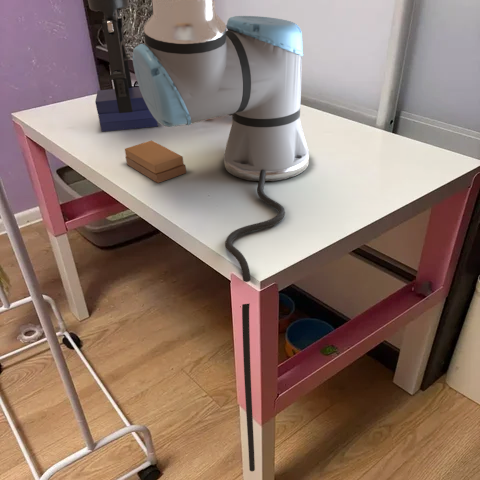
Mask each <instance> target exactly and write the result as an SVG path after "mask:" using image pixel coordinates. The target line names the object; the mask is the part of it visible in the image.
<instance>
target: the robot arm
mask: <svg viewBox="0 0 480 480" xmlns="http://www.w3.org/2000/svg"><path fill="white" fill-rule="evenodd" d="M87 2H88V8H89V9H90V10H91V11H92V12H97V13H99V12H102V13H103V19H101V22H100V23H101V28H102V29H101V30H102V32H103V36H104V42H105V45H106V50H107V55H108V61H109V68H110V74H108V75H107V76H108V81H112V84H113V89H115V94H116V99H117V104H118V110H119V113H128V112H133V111H132V105H131V99H130V93H129V88H132V87H133V84H132V76H131V70H130V66H129V60H131V54H130V53H128V50H127V47H126V43H125V39H124V38H125V32H124V20H123V18H122V17H121V16H120V11H122V10H125V9H127V8H128V7H129V5H130V4H129V3H130V2H129V0H87ZM151 3H152V14H151V15H150V17H149V18H148V19H147V20H146V22H144V24H143V34H144V36H143V37H144V43H139V44H138V45H136V46H135V47H134V48H133V51H132V66H133V70H134V75H135V80H136V82H137V86H138V87H139V88H140V91H141V94H142V96H143V98H144V101H145V103H146V105H147V107H148V109H149V111H150V112H151V114H152V115H153V117H154V118H155V119H156V120H157V121H158V124H160V125H161V126H163V127H166V128H173V127H179V126H184V125H185V126H191V125H192V124H195V123H199V122H203V121H209V120H208V119H210V120H212V119H216V118H221V117H225V116H229V114H232V115H231V119H232V121H231V125H230V130H229V134H228V138H227V142H226V146H225V149H224V153H223V160H224V161H223V163H224V168H225V170H226V171H227V172H228V173H229V174H231V175H232V176H234V177H237V178H239V179H243V180H247V181H255V182H258V183H257V187H256V192H257V194H258V197H259V199H260V200H261V201H262V202H263V203H265V204H267V205H268V206H270V207H272V208H273V209H275V210H276V211H277V212H278V213H277V215H276V216H273V217H272V218H270V219H267V220H264V221H260V222H257V223H252V224H249V225H245V226H242V227H240V228H237V229H235V230H233V231H231V232H230V234H228V236H227V237H226V239H225V242H224V247H225V249H226V250H227V251H228V252H229V253H230V255H232V256H233V257H234V258H235V260H236V261H237V262H238V264H239V266H240V269H241V273H242V281H243V282H244V283H249V282H250V281H251V273H250V272H251V271H250V268H249V267H250V266H249V264H248V261H247V258H246V257H245V255H244V254H243V253H242V252H241V251H240V250H238V248H237V247H235V246H234V245H233V242H234V241H235V239H237V238H238V237H240V236H242V235H244V234H247V233H250V232H254V231H259V230H263V229H265V228H269V227H272V226H275V225H277V224H279V223H280V222H282V220H283V219H284V218H285V214H286V210H285V207H284V206H283V205H282V204H280V203H279V202H278V201H276V200H274V199H272V198H270V197H269V196H267V194H266V193H265V192H264V186H265V183H266V182H275V181H282V180H287V179H290V178H294V177H296V176H298V175H300V174H301V173H303V172H305V171H306V169H307V168H308V167H309V165H310V150H309V147H308V143H307V140H306V137H305V132H304V129H303V125H302V122H301V101H302V100H301V99H302V72H303V71H302V69H303V68H302V67H303V57H304V51H303V50H304V48H303V33H302V29H301V27H300V26H299V25H298V24H297V23H295V22H293V21H291V20H288V19H282V18H277V17H269V16H260V15H259V16H258V15H257V16H256V15H235V16H231V17H229V18H228V19H227V22H226V23H225V22H224V21H223V19H221V17H219V15H218V14H217V12H216V0H151ZM250 306H251V305H250V303H243V304H242V305H241V325H242V355H243V377H244V395H245V396H244V397H245V414H246V415H245V416H246V426H247V427H246V430H247V447H248V466H249V471H250V472H252V473H253V472H255V470H256V465H255V462H256V461H255V443H254V442H255V441H254V439H255V438H254V419H253V418H254V417H253V416H254V415H253V396H252V371H251V336H250V335H251V333H250V332H251V331H250Z"/></svg>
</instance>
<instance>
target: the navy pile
mask: <svg viewBox="0 0 480 480" xmlns="http://www.w3.org/2000/svg"><path fill="white" fill-rule="evenodd" d="M97 116H98V120H99V121H98V122H99V124H100V131H101V132H102V133H104V132H114V131H123V130H125V131H126V130H132V129H134V130H135V129H145V128H154V127H155V128H156V127H159V122H158V121H157V120H156V119H155V118H154V117H153V115H152V114H151V112H150V111H149V109H147V110H136V111H133V112H128V113H119V112H115V113H104V114H98V113H97Z"/></svg>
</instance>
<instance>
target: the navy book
mask: <svg viewBox="0 0 480 480" xmlns="http://www.w3.org/2000/svg"><path fill="white" fill-rule="evenodd" d="M129 93H130V99H131V105H132V111H136V110H147V109H148V107H147V105H146V103H145V101H144V98H143V96H142V94H141V91H140V88H139V86H134V87H133V86H132V88H129ZM94 102H95V107H96V112H97V115H98V114H104V113H115V112H119V110H118V104H117V99H116V94H115V89H114V88H110V89H100V90H97V92H96V96H95V101H94Z"/></svg>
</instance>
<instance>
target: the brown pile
mask: <svg viewBox="0 0 480 480" xmlns="http://www.w3.org/2000/svg"><path fill="white" fill-rule="evenodd" d="M124 153H125V161H126V162H125V163H126V165H127V166H129V167H130V168H132V169H134V170H136V171H137V172H139V173H140V174H142V175H143V176H144V177H147V178H149V179H150V180H152V181H154V182H155V183H156V184H160V183H162V182H165V181H168V180H171V179H173V178H176V177H179V176H182V175H184V174H187V166H186V164H185V163H184V157H183V155H181V154H179V153H177V152H176V151H173V150H171V149H169V148H167V147H165V146H163V145H161V144H159V143H157V142H155V141H154V140H148V141H145V142H142V143H138V144H135V145H132V146H129V147H126V148H124Z"/></svg>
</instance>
